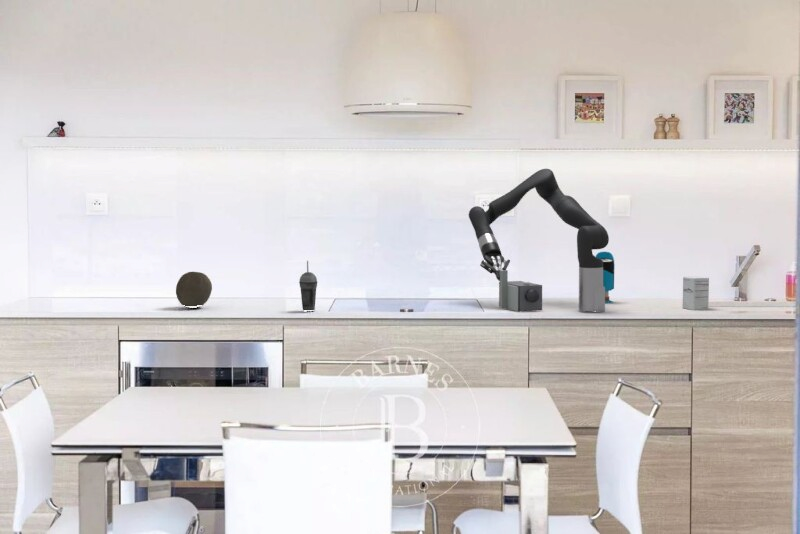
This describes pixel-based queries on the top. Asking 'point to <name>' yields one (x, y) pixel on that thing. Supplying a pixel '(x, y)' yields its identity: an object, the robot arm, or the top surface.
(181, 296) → the dark brown ball
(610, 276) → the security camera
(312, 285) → the beverage cup
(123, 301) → the top surface
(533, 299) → the block
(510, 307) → the side door
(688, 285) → the supplement box
